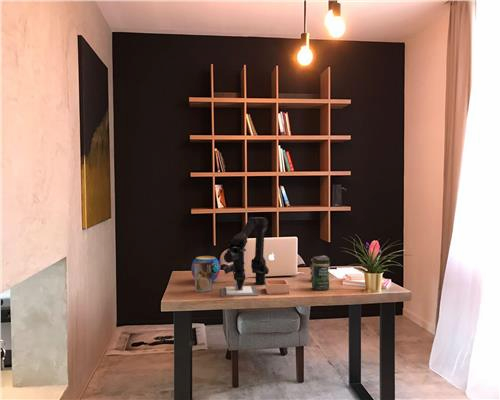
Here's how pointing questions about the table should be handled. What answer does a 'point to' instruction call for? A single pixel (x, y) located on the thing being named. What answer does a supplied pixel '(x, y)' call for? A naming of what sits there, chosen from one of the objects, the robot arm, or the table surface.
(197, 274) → the coffee box
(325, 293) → the table surface
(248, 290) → the lid
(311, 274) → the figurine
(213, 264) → the ceramic pot
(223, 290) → the mat
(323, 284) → the coffee jar
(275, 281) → the open box
